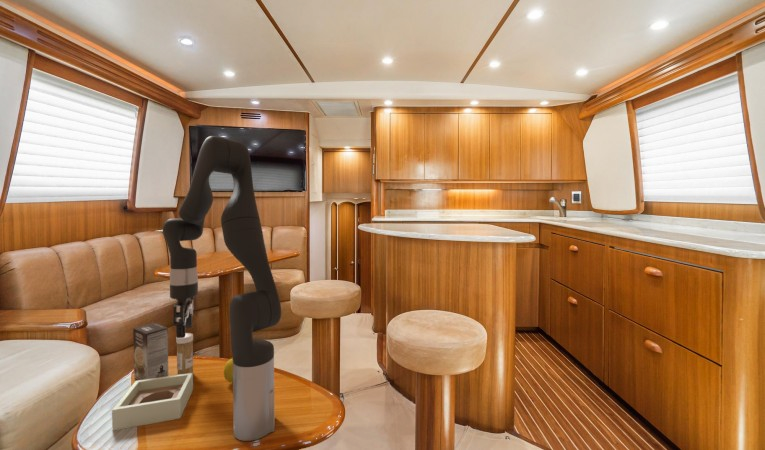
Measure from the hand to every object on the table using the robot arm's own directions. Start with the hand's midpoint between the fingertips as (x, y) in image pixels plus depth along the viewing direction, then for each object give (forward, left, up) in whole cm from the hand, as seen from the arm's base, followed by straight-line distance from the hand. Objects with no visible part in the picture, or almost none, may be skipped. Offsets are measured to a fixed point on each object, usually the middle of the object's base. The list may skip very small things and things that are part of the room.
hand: (184, 332), depth 100 cm
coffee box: (+10, -3, -15) cm, 18 cm away
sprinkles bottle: (0, 0, -15) cm, 15 cm away
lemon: (-15, +9, -15) cm, 23 cm away
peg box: (+3, +16, -14) cm, 22 cm away
